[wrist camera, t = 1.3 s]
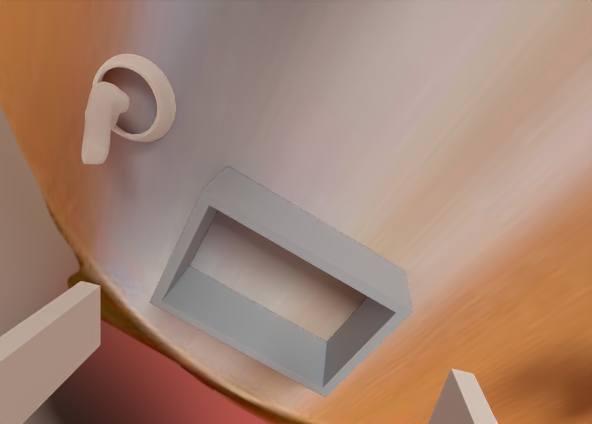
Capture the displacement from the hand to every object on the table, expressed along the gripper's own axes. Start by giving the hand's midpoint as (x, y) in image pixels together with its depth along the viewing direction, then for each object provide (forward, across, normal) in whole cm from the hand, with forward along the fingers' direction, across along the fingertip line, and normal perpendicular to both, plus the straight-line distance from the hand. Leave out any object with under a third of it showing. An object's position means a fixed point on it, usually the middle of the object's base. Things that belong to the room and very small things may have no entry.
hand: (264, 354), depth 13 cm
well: (+22, -1, -8) cm, 24 cm away
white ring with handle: (+21, -17, +6) cm, 28 cm away
